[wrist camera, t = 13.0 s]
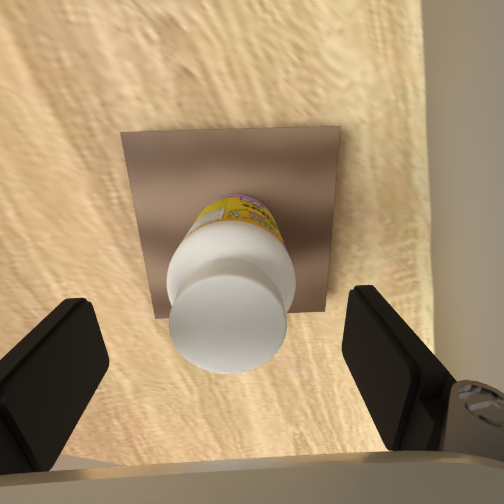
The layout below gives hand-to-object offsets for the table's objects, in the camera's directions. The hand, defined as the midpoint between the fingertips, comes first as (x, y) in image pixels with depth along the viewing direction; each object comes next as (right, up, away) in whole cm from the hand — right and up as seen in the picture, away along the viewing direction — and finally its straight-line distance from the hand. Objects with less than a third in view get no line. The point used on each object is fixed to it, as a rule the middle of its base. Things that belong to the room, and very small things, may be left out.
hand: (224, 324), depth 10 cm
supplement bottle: (0, +4, +13) cm, 13 cm away
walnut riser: (0, +5, +15) cm, 16 cm away
